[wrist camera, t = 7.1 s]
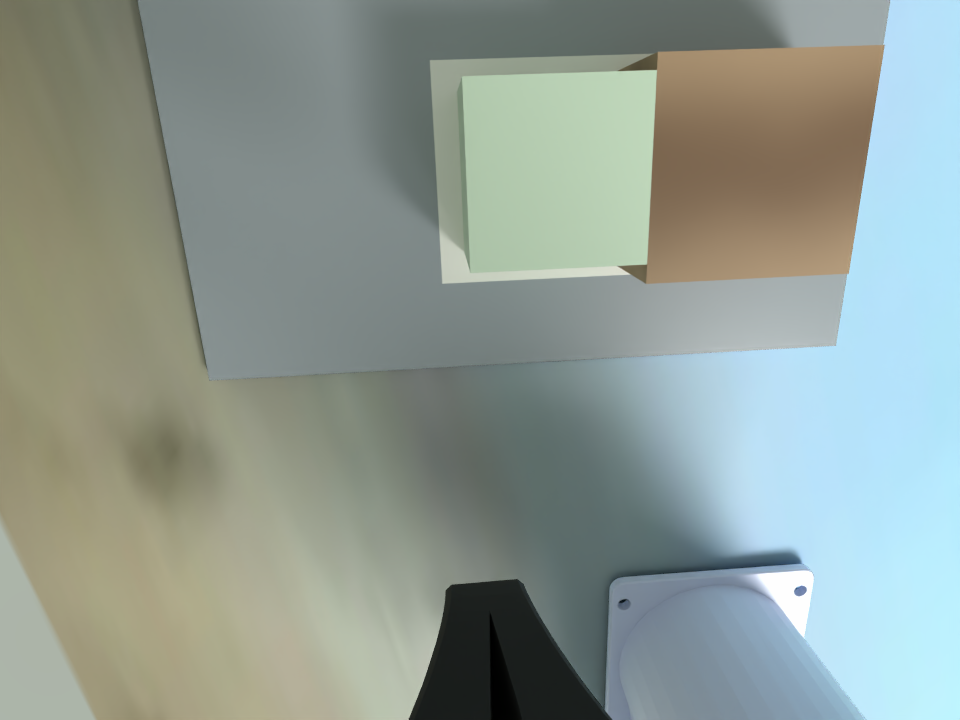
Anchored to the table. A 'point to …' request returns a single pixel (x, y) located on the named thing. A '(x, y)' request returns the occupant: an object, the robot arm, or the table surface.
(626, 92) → the green block
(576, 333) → the plate
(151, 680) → the table surface
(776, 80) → the walnut block
